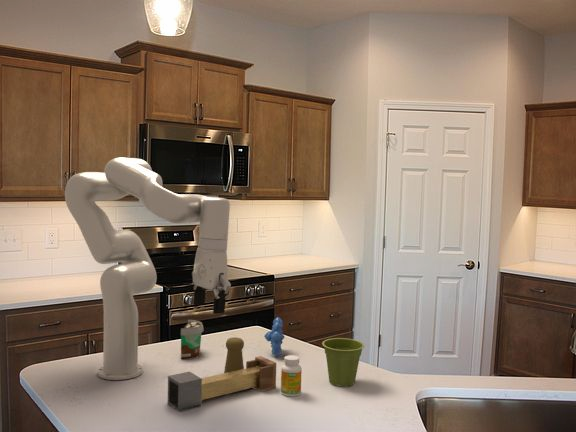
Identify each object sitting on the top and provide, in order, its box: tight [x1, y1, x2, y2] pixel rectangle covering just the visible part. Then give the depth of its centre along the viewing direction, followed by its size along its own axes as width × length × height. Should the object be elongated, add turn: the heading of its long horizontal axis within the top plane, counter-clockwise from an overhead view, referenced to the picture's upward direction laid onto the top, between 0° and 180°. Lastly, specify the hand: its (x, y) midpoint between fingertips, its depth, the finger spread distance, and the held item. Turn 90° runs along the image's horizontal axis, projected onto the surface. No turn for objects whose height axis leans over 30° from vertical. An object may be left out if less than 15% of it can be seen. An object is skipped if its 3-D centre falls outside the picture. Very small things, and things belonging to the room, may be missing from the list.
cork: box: [223, 336, 245, 373], centre depth 163 cm, size 6×6×11 cm
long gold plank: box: [201, 365, 263, 401], centre depth 149 cm, size 4×24×4 cm, turn 129°
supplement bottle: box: [280, 354, 303, 398], centre depth 151 cm, size 5×5×10 cm
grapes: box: [263, 316, 285, 357], centre depth 185 cm, size 12×7×12 cm, turn 176°
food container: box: [180, 319, 205, 360], centre depth 182 cm, size 12×6×10 cm, turn 179°
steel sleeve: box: [167, 371, 203, 413], centre depth 141 cm, size 6×6×7 cm
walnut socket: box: [245, 355, 277, 392], centre depth 156 cm, size 7×5×7 cm
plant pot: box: [321, 337, 365, 388], centre depth 160 cm, size 12×12×11 cm
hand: (208, 308), depth 149 cm, fingers open, 9 cm apart
